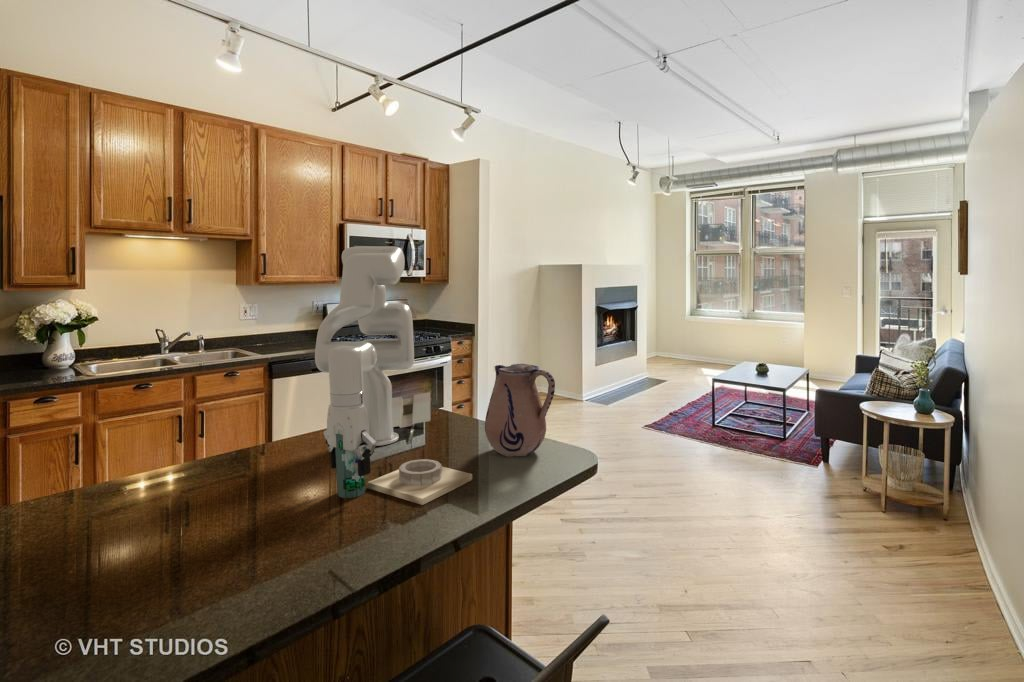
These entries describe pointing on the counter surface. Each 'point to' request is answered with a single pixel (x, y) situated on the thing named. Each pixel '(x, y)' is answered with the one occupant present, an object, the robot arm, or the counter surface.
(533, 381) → the ceramic pitcher
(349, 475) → the can
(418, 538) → the counter surface
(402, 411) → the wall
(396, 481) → the socket board
